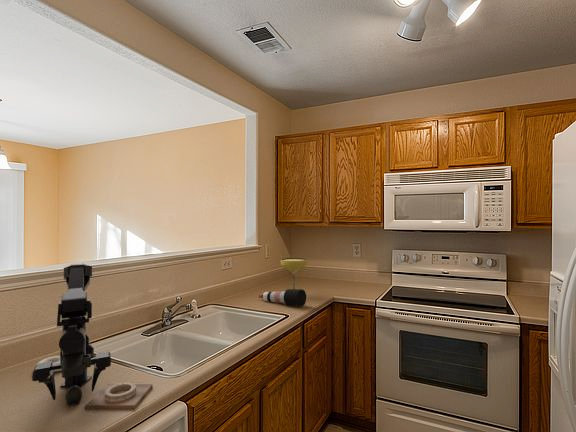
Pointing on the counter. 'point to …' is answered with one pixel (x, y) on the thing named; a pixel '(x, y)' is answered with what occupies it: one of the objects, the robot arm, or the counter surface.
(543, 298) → the counter surface
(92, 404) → the egg stand
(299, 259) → the cocktail glass
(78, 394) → the egg
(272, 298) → the bottle
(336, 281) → the counter surface
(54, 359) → the donut
